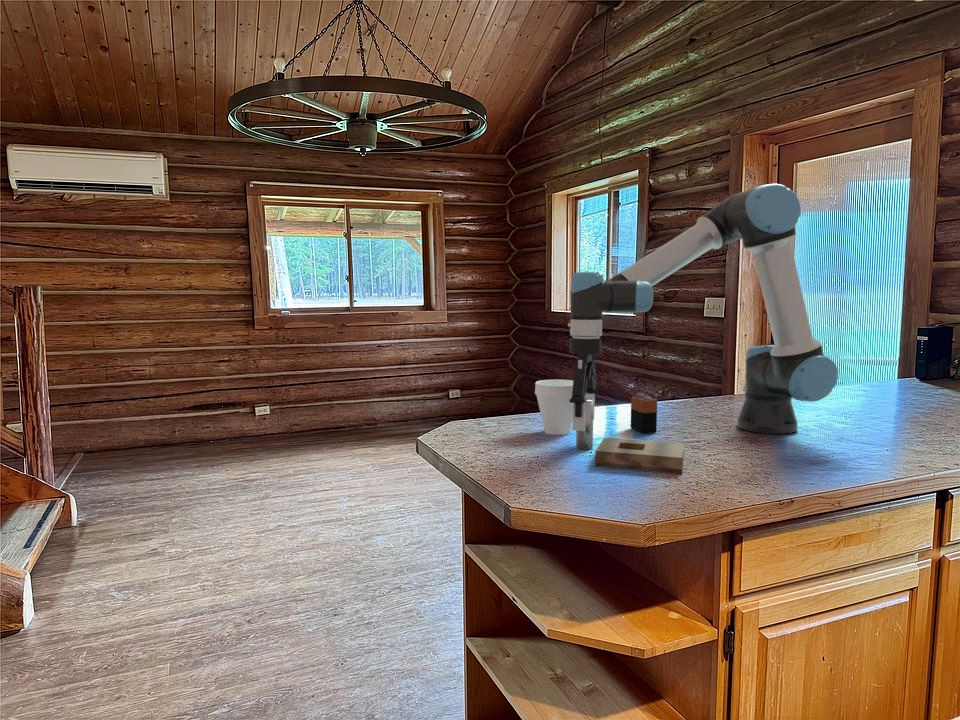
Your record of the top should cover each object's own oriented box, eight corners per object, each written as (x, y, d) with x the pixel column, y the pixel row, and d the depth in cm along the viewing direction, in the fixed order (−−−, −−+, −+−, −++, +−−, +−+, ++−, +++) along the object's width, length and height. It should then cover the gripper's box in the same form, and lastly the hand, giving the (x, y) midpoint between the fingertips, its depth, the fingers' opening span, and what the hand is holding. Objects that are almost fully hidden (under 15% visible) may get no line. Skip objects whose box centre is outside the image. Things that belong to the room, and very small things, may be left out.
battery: (643, 427, 171) (644, 392, 170) (657, 432, 164) (658, 396, 163) (629, 428, 170) (630, 393, 168) (643, 434, 163) (643, 397, 162)
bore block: (683, 458, 139) (683, 443, 139) (682, 474, 127) (682, 457, 126) (603, 451, 145) (604, 437, 145) (595, 466, 133) (595, 450, 132)
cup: (553, 425, 174) (554, 378, 173) (589, 432, 166) (589, 382, 164) (525, 432, 166) (525, 382, 164) (561, 439, 157) (561, 387, 156)
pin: (593, 446, 150) (594, 398, 148) (591, 450, 146) (591, 401, 145) (577, 445, 151) (578, 398, 150) (574, 449, 147) (575, 400, 146)
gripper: (579, 333, 158) (577, 413, 161) (559, 340, 135) (557, 434, 137) (608, 334, 156) (606, 415, 158) (593, 341, 133) (590, 436, 135)
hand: (583, 424), depth 148 cm, fingers open, 13 cm apart
